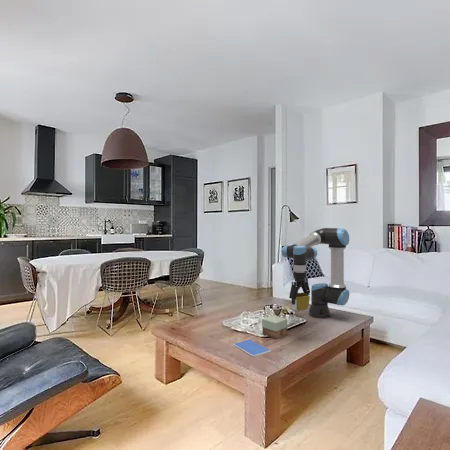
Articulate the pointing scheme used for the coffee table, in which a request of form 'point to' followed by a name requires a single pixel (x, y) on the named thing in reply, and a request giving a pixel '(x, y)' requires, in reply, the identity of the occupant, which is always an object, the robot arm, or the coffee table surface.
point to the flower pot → (302, 301)
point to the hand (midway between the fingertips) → (300, 307)
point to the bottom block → (275, 333)
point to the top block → (274, 323)
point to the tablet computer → (252, 348)
